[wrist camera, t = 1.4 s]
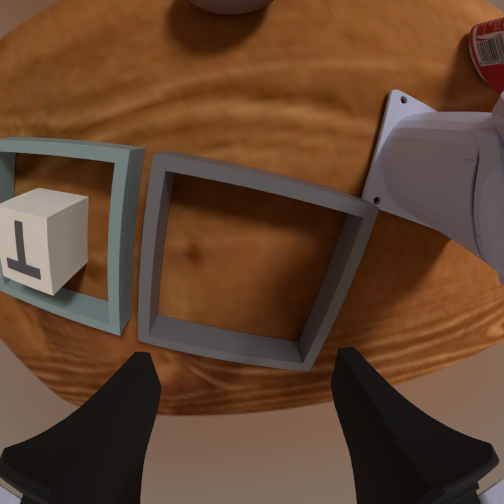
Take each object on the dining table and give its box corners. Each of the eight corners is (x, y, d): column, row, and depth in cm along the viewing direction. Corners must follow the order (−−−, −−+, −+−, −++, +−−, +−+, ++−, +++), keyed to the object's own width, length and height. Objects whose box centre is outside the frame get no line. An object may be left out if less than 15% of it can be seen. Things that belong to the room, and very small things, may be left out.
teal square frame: (145, 147, 16) (129, 150, 13) (130, 315, 20) (120, 335, 18) (11, 137, 14) (-10, 140, 12) (16, 277, 19) (0, 290, 17)
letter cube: (89, 196, 17) (45, 218, 12) (87, 261, 19) (52, 296, 14) (38, 187, 16) (-6, 206, 11) (40, 248, 18) (2, 276, 13)
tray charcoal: (363, 198, 17) (379, 208, 15) (304, 349, 22) (309, 371, 19) (166, 150, 16) (153, 153, 13) (147, 320, 20) (138, 340, 18)
